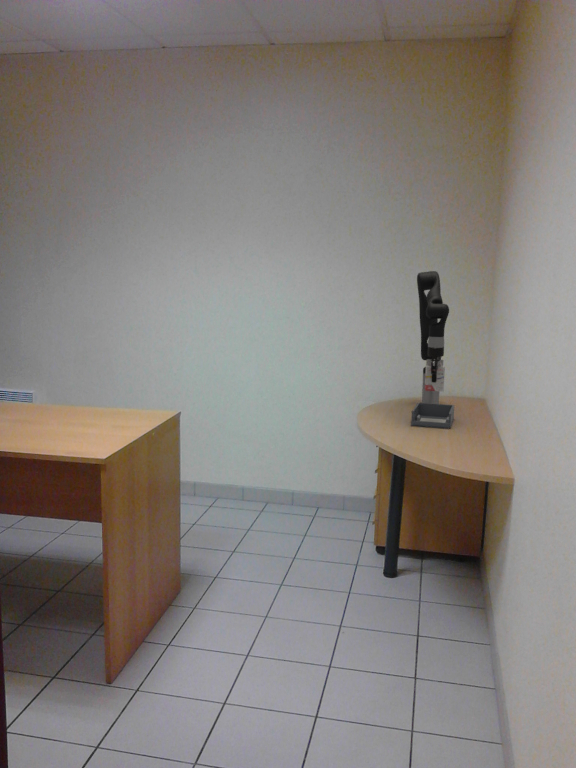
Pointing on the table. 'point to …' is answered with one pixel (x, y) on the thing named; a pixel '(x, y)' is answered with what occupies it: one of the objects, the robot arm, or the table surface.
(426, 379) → the ink cartridge box
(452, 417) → the walled box
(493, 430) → the table surface
